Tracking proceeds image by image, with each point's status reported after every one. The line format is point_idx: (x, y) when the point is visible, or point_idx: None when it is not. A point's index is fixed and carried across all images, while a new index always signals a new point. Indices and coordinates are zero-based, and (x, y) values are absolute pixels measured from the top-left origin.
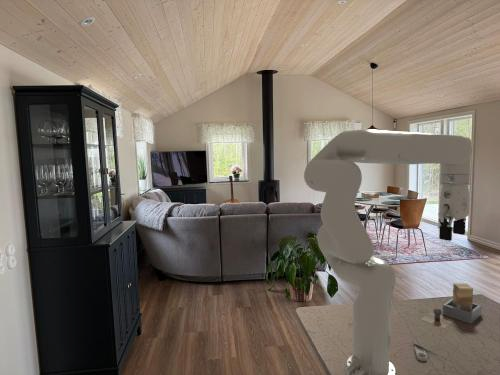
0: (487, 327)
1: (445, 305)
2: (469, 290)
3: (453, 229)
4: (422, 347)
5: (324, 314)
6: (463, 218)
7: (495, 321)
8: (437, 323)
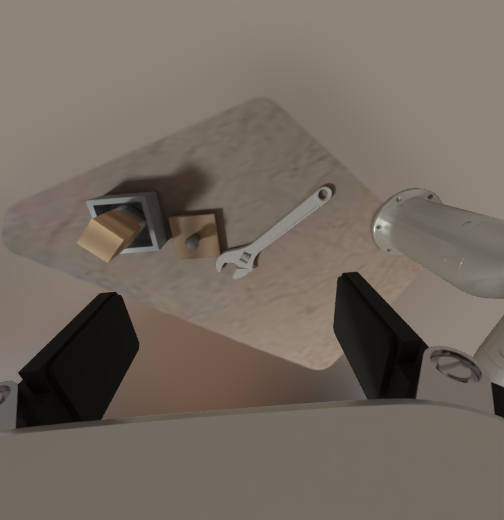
0: (124, 171)
1: (158, 245)
2: (103, 222)
3: (128, 365)
4: (301, 206)
5: (312, 345)
6: (17, 424)
7: (84, 172)
8: (207, 230)
